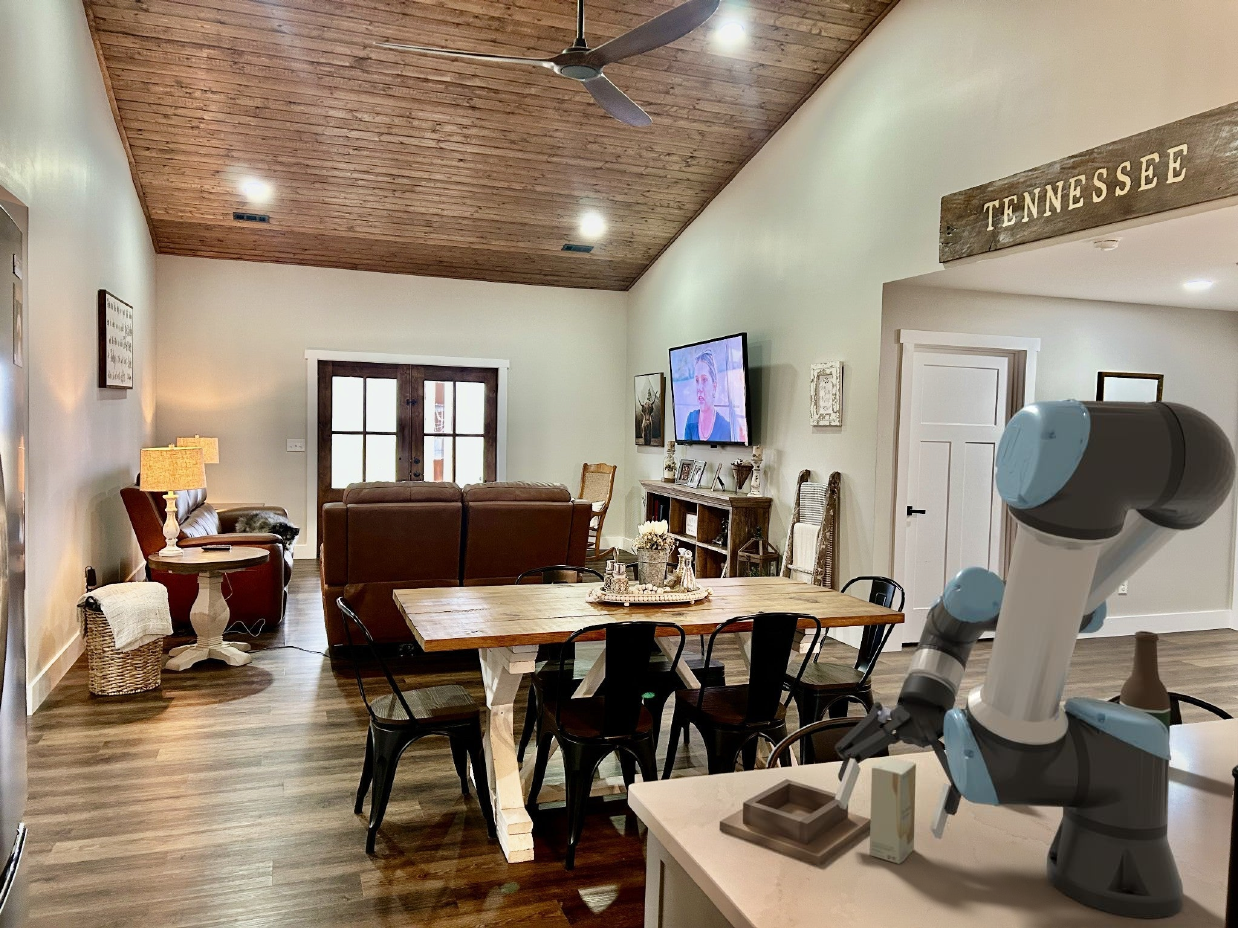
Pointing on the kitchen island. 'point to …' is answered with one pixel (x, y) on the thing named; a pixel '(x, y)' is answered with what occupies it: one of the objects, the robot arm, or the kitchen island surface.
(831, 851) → the walnut box stand
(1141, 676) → the beer bottle
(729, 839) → the kitchen island surface
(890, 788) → the skincare box
